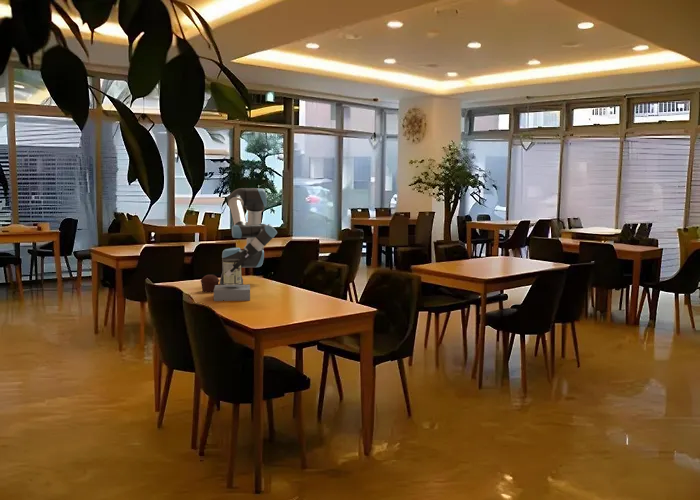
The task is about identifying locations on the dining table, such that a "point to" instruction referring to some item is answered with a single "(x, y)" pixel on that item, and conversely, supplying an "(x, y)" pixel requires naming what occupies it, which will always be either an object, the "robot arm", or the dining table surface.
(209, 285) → the muffin
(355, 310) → the dining table surface
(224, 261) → the coffee can
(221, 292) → the grey block
